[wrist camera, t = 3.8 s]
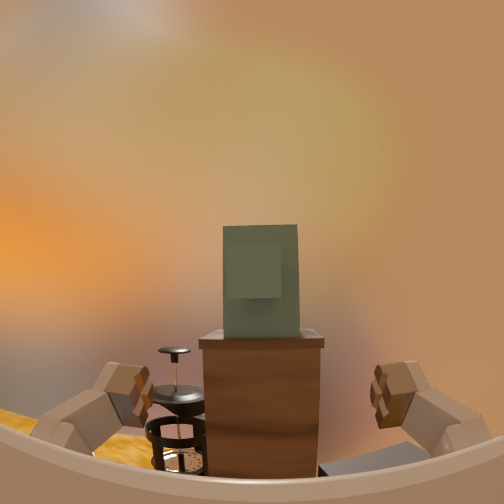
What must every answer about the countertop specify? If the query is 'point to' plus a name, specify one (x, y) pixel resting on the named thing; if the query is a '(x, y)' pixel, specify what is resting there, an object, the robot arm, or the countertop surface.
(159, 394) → the french press
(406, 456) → the riser
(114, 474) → the robot arm
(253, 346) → the stand
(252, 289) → the green mallet
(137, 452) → the countertop surface
